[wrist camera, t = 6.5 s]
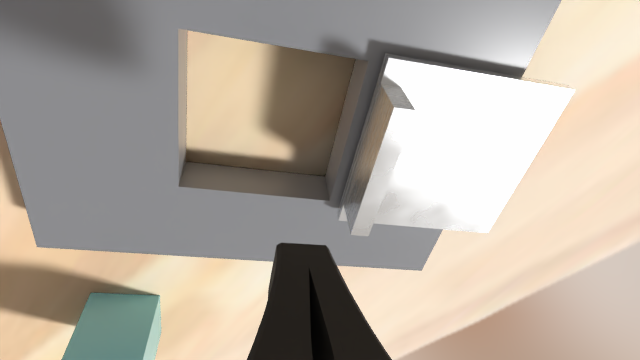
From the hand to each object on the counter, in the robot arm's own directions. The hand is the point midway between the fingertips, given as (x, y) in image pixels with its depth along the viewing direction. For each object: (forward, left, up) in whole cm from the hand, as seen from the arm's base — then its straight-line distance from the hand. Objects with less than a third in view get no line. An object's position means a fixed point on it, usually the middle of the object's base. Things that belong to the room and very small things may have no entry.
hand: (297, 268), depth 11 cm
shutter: (+7, 0, -7) cm, 10 cm away
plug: (-8, -16, -9) cm, 20 cm away
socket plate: (-1, 0, -9) cm, 9 cm away
